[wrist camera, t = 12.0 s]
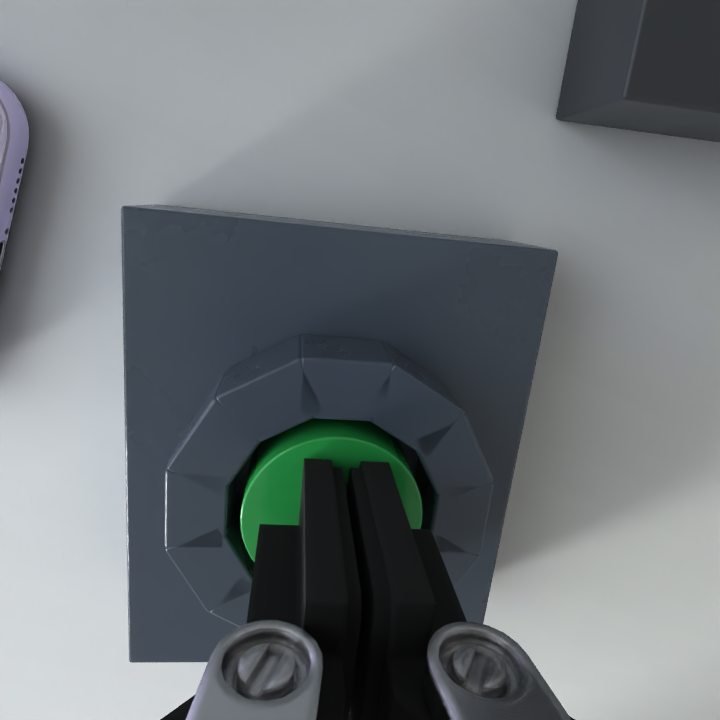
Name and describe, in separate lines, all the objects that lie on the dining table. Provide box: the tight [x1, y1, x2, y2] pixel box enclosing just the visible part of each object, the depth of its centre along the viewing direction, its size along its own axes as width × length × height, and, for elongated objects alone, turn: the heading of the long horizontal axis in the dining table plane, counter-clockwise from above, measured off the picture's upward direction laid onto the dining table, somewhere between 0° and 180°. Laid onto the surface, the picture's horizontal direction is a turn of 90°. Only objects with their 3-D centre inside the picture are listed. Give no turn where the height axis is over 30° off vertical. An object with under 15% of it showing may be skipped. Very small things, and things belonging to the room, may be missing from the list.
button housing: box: [121, 205, 558, 662], centre depth 13 cm, size 11×9×4 cm
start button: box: [240, 418, 423, 562], centre depth 11 cm, size 4×4×2 cm
